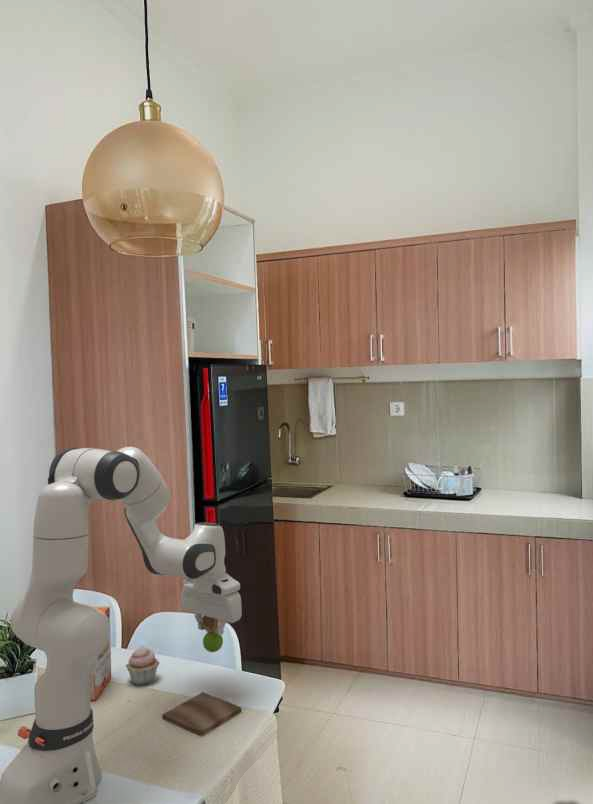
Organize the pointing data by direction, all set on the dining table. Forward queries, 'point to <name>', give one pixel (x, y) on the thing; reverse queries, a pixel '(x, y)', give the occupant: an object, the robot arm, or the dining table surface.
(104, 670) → the cracker box
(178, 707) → the walnut board
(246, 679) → the dining table surface
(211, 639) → the snail figurine
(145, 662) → the cupcake
